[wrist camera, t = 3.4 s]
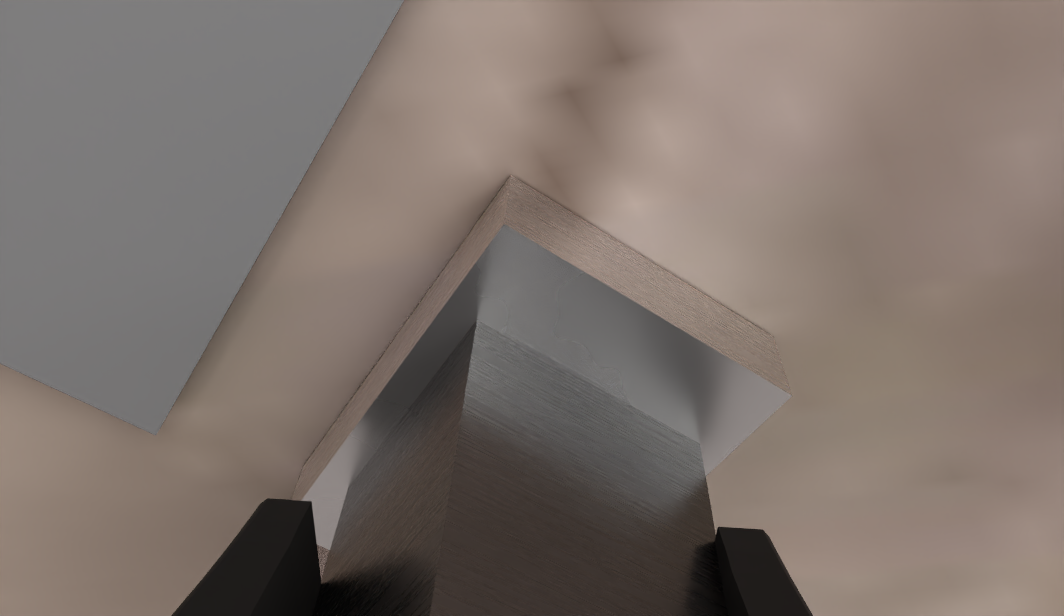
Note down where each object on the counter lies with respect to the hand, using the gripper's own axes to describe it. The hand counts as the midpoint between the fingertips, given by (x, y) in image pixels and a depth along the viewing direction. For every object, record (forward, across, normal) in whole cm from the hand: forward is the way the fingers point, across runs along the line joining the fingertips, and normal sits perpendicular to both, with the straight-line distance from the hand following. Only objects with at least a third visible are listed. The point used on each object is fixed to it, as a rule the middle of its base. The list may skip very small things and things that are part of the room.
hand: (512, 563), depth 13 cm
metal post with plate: (+3, 0, 0) cm, 3 cm away
